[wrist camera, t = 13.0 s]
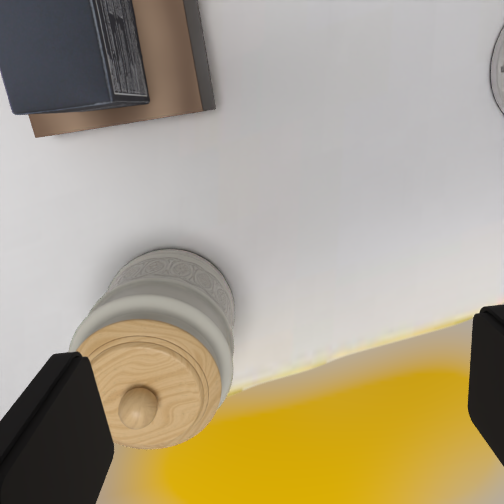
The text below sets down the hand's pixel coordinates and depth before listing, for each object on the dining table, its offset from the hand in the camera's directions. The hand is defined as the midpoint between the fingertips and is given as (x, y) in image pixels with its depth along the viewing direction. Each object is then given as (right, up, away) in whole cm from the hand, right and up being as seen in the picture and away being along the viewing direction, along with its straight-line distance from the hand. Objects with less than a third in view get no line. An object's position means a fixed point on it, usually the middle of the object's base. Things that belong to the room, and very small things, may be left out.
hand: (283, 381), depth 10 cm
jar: (-9, -2, +34) cm, 36 cm away
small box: (-13, +20, +22) cm, 32 cm away
